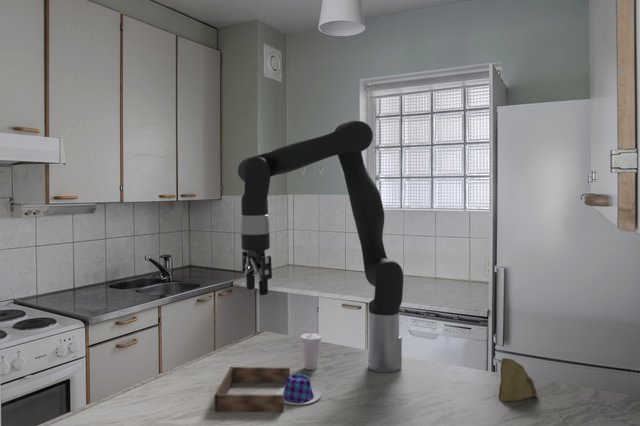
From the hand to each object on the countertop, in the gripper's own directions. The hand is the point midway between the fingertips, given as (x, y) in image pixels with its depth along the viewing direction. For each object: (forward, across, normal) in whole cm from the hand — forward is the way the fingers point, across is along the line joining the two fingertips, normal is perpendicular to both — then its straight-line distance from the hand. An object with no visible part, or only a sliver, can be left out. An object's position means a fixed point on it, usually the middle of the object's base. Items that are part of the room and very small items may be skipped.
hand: (256, 291), depth 128 cm
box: (+27, -4, +2) cm, 27 cm away
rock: (+28, -40, -56) cm, 74 cm away
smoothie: (+27, +6, -20) cm, 34 cm away
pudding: (+27, -10, -7) cm, 30 cm away
